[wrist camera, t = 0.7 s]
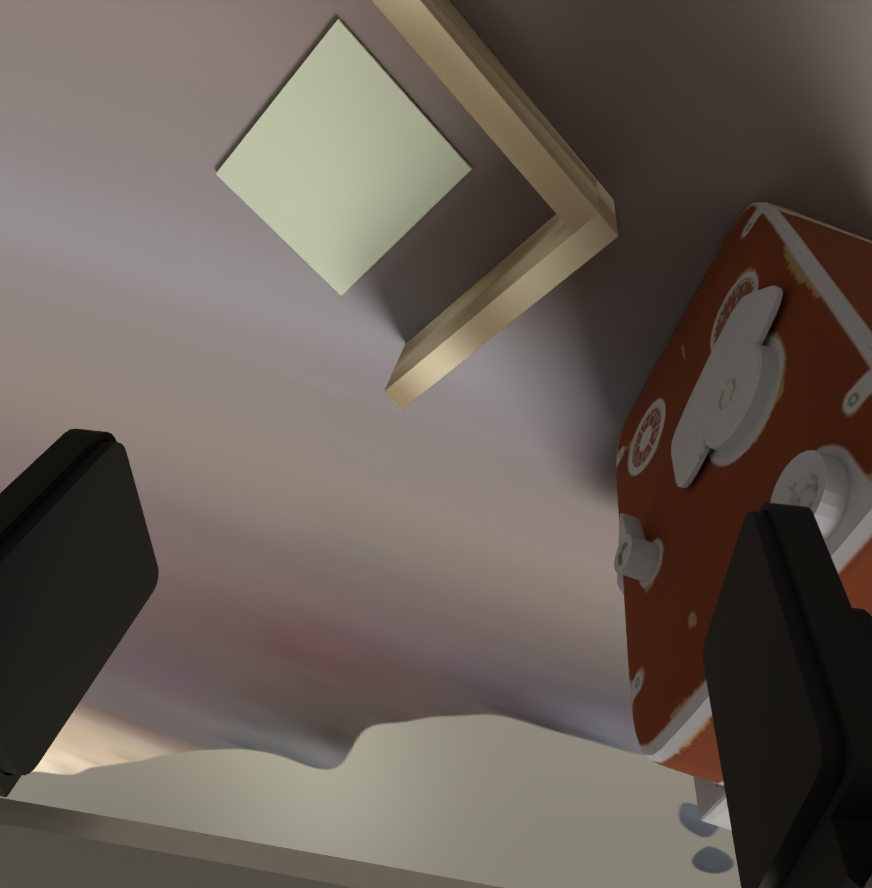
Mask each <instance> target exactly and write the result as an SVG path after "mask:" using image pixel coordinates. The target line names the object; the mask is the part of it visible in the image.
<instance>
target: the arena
mask: <svg viewBox="0 0 872 888" xmlns="http://www.w3.org/2000/svg"><path fill="white" fill-rule="evenodd" d="M372 1H373V2H374V4H375V5H376V6H377V7H378V8H379V9H380V10H381V12H382V13H383V14H384V15H385V16H386V17H387V19H388V20H389V21H390V22H391V23H392V24H393V25H394V27H395V28H396V29H397V30H398V31H399V32H400V34H401V35H402V36H403V37H404V38H405V39H406V41H407V42H408V43H409V44H410V45H411V46H412V47H413V49H414V50H415V51H416V52H417V53H418V54H419V56H420V57H421V58H422V59H423V60H424V61H425V63H426V64H427V65H428V66H429V67H430V68H431V69H432V71H433V72H434V73H435V74H436V75H437V76H438V78H439V79H440V80H441V81H442V82H443V83H444V85H445V86H446V87H447V88H448V89H449V90H450V91H451V93H452V94H453V95H454V96H455V97H456V98H457V100H458V101H459V102H460V103H461V104H462V105H463V107H464V108H465V109H466V110H467V111H468V112H469V113H470V115H471V116H472V117H473V118H474V119H475V120H476V122H477V123H478V124H479V125H480V126H481V127H482V128H483V130H484V131H485V132H486V133H487V134H488V135H489V137H490V138H491V139H492V140H493V141H494V142H495V144H496V145H497V146H498V147H499V148H500V149H501V150H502V152H503V153H504V154H505V155H506V156H507V157H508V159H509V160H510V161H511V162H512V163H513V164H514V166H515V167H516V168H517V169H518V170H519V171H520V172H521V174H522V175H523V176H524V177H525V178H526V179H527V181H528V182H529V183H530V184H531V185H532V186H533V188H534V189H535V190H536V191H537V192H538V193H539V194H540V196H541V197H542V198H543V199H544V200H545V201H546V203H547V204H548V205H549V206H550V207H551V208H552V209H553V211H554V212H555V213H556V214H555V215H554V216H553V217H552V218H551V219H550V220H548V221H547V222H546V223H545V224H544V225H543V226H541V227H540V228H539V229H538V230H537V231H536V232H535V233H533V234H532V235H531V236H530V237H529V238H528V239H526V240H525V241H524V242H523V243H522V244H521V245H519V246H518V247H517V248H516V249H515V250H514V251H512V252H511V253H510V254H509V255H508V256H507V257H506V258H504V259H503V260H502V261H501V262H500V263H499V264H497V265H496V266H495V267H494V268H493V269H492V270H490V271H489V272H488V273H487V274H486V275H485V276H483V277H482V278H481V279H480V280H479V281H478V282H477V283H475V284H474V285H473V286H472V287H471V288H470V289H468V290H467V291H466V292H465V293H464V294H463V295H461V296H460V297H459V298H458V299H457V300H456V301H454V302H453V303H452V304H451V305H450V306H449V307H448V308H446V309H445V310H444V311H443V312H442V313H441V314H439V315H438V316H437V317H436V318H435V319H434V320H432V321H431V322H430V323H429V324H428V325H427V326H425V327H424V328H423V329H422V330H421V331H420V332H419V333H417V334H416V335H415V336H414V337H413V338H412V339H410V340H409V341H408V342H407V343H406V344H405V346H404V348H403V351H402V353H401V355H400V357H399V359H398V362H397V364H396V366H395V368H394V371H393V373H392V375H391V377H390V380H389V382H388V384H387V386H386V389H385V391H384V392H385V393H386V394H387V395H388V396H389V397H390V398H392V399H393V400H394V401H395V402H396V403H397V404H398V405H399V406H400V407H401V408H402V409H403V408H404V407H406V406H407V405H408V404H409V403H411V402H412V401H413V400H414V399H416V398H417V397H418V396H419V395H421V394H422V393H423V392H424V391H426V390H427V389H428V388H429V387H431V386H432V385H433V384H434V383H436V382H437V381H438V380H439V379H441V378H442V377H443V376H444V375H446V374H447V373H448V372H449V371H451V370H452V369H453V368H454V367H456V366H457V365H458V364H459V363H461V362H462V361H463V360H464V359H466V358H467V357H468V356H469V355H471V354H472V353H473V352H474V351H476V350H477V349H478V348H479V347H481V346H482V345H483V344H484V343H486V342H487V341H488V340H489V339H491V338H492V337H493V336H494V335H496V334H497V333H498V332H499V331H501V330H502V329H503V328H504V327H506V326H507V325H508V324H509V323H511V322H512V321H513V320H514V319H516V318H517V317H518V316H519V315H521V314H522V313H523V312H524V311H526V310H527V309H528V308H529V307H531V306H532V305H533V304H534V303H536V302H537V301H538V300H539V299H541V298H542V297H543V296H544V295H546V294H547V293H548V292H549V291H551V290H552V289H553V288H554V287H556V286H557V285H558V284H559V283H561V282H562V281H563V280H564V279H566V278H567V277H568V276H569V275H571V274H572V273H573V272H574V271H576V270H577V269H578V268H579V267H581V266H582V265H583V264H584V263H586V262H587V261H588V260H589V259H591V258H592V257H593V256H594V255H596V254H597V253H598V252H599V251H601V250H602V249H603V248H604V247H606V246H607V245H608V244H609V243H611V242H612V241H613V240H614V239H616V238H617V237H618V230H617V222H616V214H615V206H614V200H613V198H612V197H611V196H610V195H609V194H608V192H607V191H606V190H605V189H604V187H603V186H602V185H601V184H600V183H599V181H598V180H597V179H596V178H595V177H594V175H593V174H592V173H591V172H590V171H589V169H588V168H587V167H586V166H585V164H584V163H583V162H582V161H581V160H580V158H579V157H578V156H577V155H576V154H575V152H574V151H573V150H572V149H571V148H570V146H569V145H568V144H567V143H566V141H565V140H564V139H563V138H562V137H561V135H560V134H559V133H558V132H557V131H556V129H555V128H554V127H553V126H552V125H551V123H550V122H549V121H548V120H547V118H546V117H545V116H544V115H543V114H542V112H541V111H540V110H539V109H538V108H537V106H536V105H535V104H534V103H533V102H532V100H531V99H530V98H529V97H528V95H527V94H526V93H525V92H524V91H523V89H522V88H521V87H520V86H519V85H518V83H517V82H516V81H515V80H514V79H513V77H512V76H511V75H510V74H509V72H508V71H507V70H506V69H505V68H504V66H503V65H502V64H501V63H500V62H499V60H498V59H497V58H496V57H495V56H494V54H493V53H492V52H491V51H490V49H489V48H488V47H487V46H486V45H485V43H484V42H483V41H482V40H481V39H480V37H479V36H478V35H477V34H476V33H475V31H474V30H473V29H472V28H471V26H470V25H469V24H468V23H467V22H466V20H465V19H464V18H463V17H462V16H461V14H460V13H459V12H458V11H457V10H456V8H455V7H454V6H453V5H452V3H451V2H450V1H449V0H372Z"/></svg>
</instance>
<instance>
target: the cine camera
mask: <svg viewBox="0 0 872 888" xmlns="http://www.w3.org/2000/svg"><path fill="white" fill-rule="evenodd" d="M616 478H617V493H618V509H619V546H618V549H617V552H616V556H615V561H614V566H615V571H616V572H617V573H618V574H617V583H618V586H619V588H620V590H621V591H622V593H623V594H624V602H625V618H626V633H627V649H628V665H629V678H630V690H631V703H632V713H633V719H634V726H635V732H636V735H637V738H638V741H639V744H640V747H641V749H642V751H643V753H644V754H645V755H646V756H647V757H649V758H650V759H651V760H652V761H654V762H656V763H658V764H660V765H662V766H665V767H668V768H671V769H674V770H677V771H680V772H683V773H686V774H689V775H692V776H694V781H695V789H696V796H697V804H698V812H699V817H700V819H701V820H702V821H704V822H707V823H710V824H714V825H717V826H720V827H723V828H726V829H729V830H732V829H731V823H730V818H729V812H728V806H727V800H726V794H725V788H724V782H723V776H722V770H721V765H720V759H719V753H718V747H717V741H716V735H715V729H714V723H713V717H712V711H711V706H710V700H709V694H708V688H707V682H706V676H705V670H704V663H703V649H704V642H705V638H706V635H707V632H708V629H709V626H710V623H711V620H712V616H713V613H714V610H715V607H716V604H717V601H718V598H719V595H720V592H721V588H722V585H723V582H724V579H725V576H726V573H727V570H728V567H729V564H730V560H731V557H732V554H733V551H734V548H735V545H736V542H737V539H738V536H739V533H740V529H741V526H742V523H743V520H744V517H745V515H746V514H747V512H749V511H754V512H759V510H760V508H761V506H762V505H763V504H764V503H777V504H786V505H795V506H805V507H808V508H810V509H811V510H812V512H813V514H814V516H815V519H816V521H817V523H818V526H819V528H820V531H821V533H822V536H823V538H824V541H825V543H826V545H827V548H828V550H829V553H830V555H831V558H832V560H833V563H834V565H835V567H836V570H837V572H838V575H839V577H840V580H841V582H842V585H843V587H844V589H845V592H846V594H847V597H848V599H849V602H850V604H851V607H852V608H859V609H864V610H866V611H867V612H868V613H869V614H870V615H871V616H872V239H869V238H867V237H864V236H861V235H858V234H856V233H853V232H850V231H848V230H845V229H842V228H839V227H837V226H834V225H831V224H828V223H826V222H823V221H820V220H817V219H815V218H812V217H809V216H806V215H804V214H801V213H798V212H796V211H793V210H790V209H787V208H784V207H781V206H778V205H775V204H772V203H769V202H753V203H752V204H750V205H749V206H747V207H746V209H745V210H744V211H743V212H742V214H741V215H740V216H739V218H738V219H737V221H736V223H735V224H734V226H733V227H732V229H731V231H730V232H729V234H728V236H727V238H726V239H725V241H724V243H723V245H722V247H721V249H720V250H719V252H718V254H717V256H716V258H715V259H714V261H713V263H712V265H711V267H710V268H709V270H708V272H707V274H706V276H705V278H704V279H703V281H702V283H701V285H700V287H699V288H698V290H697V292H696V294H695V296H694V298H693V299H692V301H691V303H690V305H689V307H688V308H687V310H686V312H685V314H684V316H683V318H682V319H681V321H680V323H679V325H678V327H677V328H676V330H675V332H674V334H673V336H672V338H671V339H670V341H669V343H668V345H667V347H666V348H665V350H664V352H663V354H662V356H661V357H660V359H659V361H658V363H657V365H656V367H655V368H654V370H653V372H652V374H651V376H650V377H649V379H648V381H647V383H646V385H645V387H644V388H643V390H642V392H641V394H640V396H639V397H638V399H637V401H636V403H635V405H634V407H633V408H632V410H631V412H630V414H629V416H628V417H627V419H626V422H625V424H624V426H623V428H622V430H621V433H620V436H619V439H618V442H617V451H616Z"/></svg>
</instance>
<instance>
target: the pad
mask: <svg viewBox="0 0 872 888" xmlns="http://www.w3.org/2000/svg"><path fill="white" fill-rule="evenodd" d="M471 170H472V168H471V167H470V165H469V164H468V163H467V162H466V161H465V160H464V159H463V158H462V156H461V155H460V154H459V153H458V152H457V151H456V150H455V149H454V147H453V146H452V145H451V144H450V143H449V142H448V141H447V140H446V138H445V137H444V136H443V135H442V134H441V133H440V132H439V131H438V129H437V128H436V127H435V126H434V125H433V124H432V123H431V122H430V120H429V119H428V118H427V117H426V116H425V115H424V114H423V113H422V111H421V110H420V109H419V108H418V107H417V106H416V105H415V104H414V102H413V101H412V100H411V99H410V98H409V97H408V96H407V95H406V93H405V92H404V91H403V90H402V89H401V88H400V87H399V85H398V84H397V83H396V82H395V81H394V80H393V79H392V78H391V76H390V75H389V74H388V73H387V72H386V71H385V70H384V69H383V67H382V66H381V65H380V64H379V63H378V62H377V61H376V60H375V58H374V57H373V56H372V55H371V54H370V53H369V52H368V51H367V49H366V48H365V47H364V46H363V45H362V44H361V43H360V42H359V40H358V39H357V38H356V37H355V36H354V35H353V34H352V33H351V31H350V30H349V29H348V28H347V27H346V26H345V25H344V24H343V22H342V21H341V20H340V19H338V20H337V21H336V22H335V24H334V25H333V26H332V27H331V29H330V30H329V31H328V32H327V34H326V35H325V36H324V37H323V39H322V40H321V41H320V43H319V44H318V45H317V46H316V48H315V49H314V50H313V51H312V53H311V54H310V55H309V56H308V58H307V59H306V60H305V62H304V63H303V64H302V65H301V67H300V68H299V69H298V70H297V72H296V73H295V74H294V75H293V77H292V78H291V79H290V80H289V82H288V83H287V84H286V86H285V87H284V88H283V89H282V91H281V92H280V93H279V94H278V96H277V97H276V98H275V99H274V101H273V102H272V103H271V105H270V106H269V107H268V108H267V110H266V111H265V112H264V113H263V115H262V116H261V117H260V118H259V120H258V121H257V122H256V124H255V125H254V126H253V127H252V129H251V130H250V131H249V132H248V134H247V135H246V136H245V137H244V139H243V140H242V141H241V143H240V144H239V145H238V146H237V148H236V149H235V150H234V151H233V153H232V154H231V155H230V156H229V158H228V159H227V160H226V161H225V163H224V164H223V165H222V167H221V168H220V169H219V170H218V172H217V173H216V175H217V176H219V177H220V178H221V179H222V180H223V181H224V182H225V183H226V184H227V185H228V186H229V187H230V188H231V189H232V190H233V191H234V192H235V193H236V194H237V195H238V196H239V197H240V198H241V199H242V200H243V201H244V202H245V203H246V204H247V205H248V206H249V207H250V208H251V209H252V210H254V211H255V212H256V213H257V214H258V215H259V216H260V217H261V218H262V219H263V220H264V221H265V222H266V223H267V224H268V225H269V226H270V227H271V228H272V229H273V230H274V231H275V232H276V233H277V234H278V235H279V236H280V237H281V238H282V239H283V240H284V241H285V242H286V243H287V244H288V245H290V246H291V247H292V248H293V249H294V250H295V251H296V252H297V253H298V254H299V255H300V256H301V257H302V258H303V259H304V260H305V261H306V262H307V263H308V264H309V265H310V266H311V267H312V268H313V269H314V270H315V271H316V272H317V273H318V274H319V275H320V276H321V277H322V278H323V279H325V280H326V281H327V282H328V283H329V284H330V285H331V286H332V287H333V288H334V289H335V290H336V291H337V292H338V293H339V294H340V295H341V296H342V295H343V294H344V293H345V292H346V291H347V290H348V289H349V288H350V287H351V286H352V285H353V284H354V283H355V282H356V281H357V280H358V279H359V278H360V277H361V276H362V275H363V274H364V273H365V272H367V271H368V270H369V269H370V268H371V267H372V266H373V265H374V264H375V263H376V262H377V261H378V260H379V259H380V258H381V257H382V256H383V255H384V254H385V253H386V252H387V251H388V250H389V249H390V248H391V247H392V246H393V245H394V244H395V243H396V242H397V241H398V240H399V239H401V238H402V237H403V236H404V235H405V234H406V233H407V232H408V231H409V230H410V229H411V228H412V227H413V226H414V225H415V224H416V223H417V222H418V221H419V220H420V219H421V218H422V217H423V216H424V215H425V214H426V213H427V212H428V211H429V210H430V209H431V208H432V207H434V206H435V205H436V204H437V203H438V202H439V201H440V200H441V199H442V198H443V197H444V196H445V195H446V194H447V193H448V192H449V191H450V190H451V189H452V188H453V187H454V186H455V185H456V184H457V183H458V182H459V181H460V180H461V179H462V178H463V177H464V176H465V175H466V174H468V173H469V172H470V171H471Z"/></svg>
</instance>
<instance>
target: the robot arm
mask: <svg viewBox="0 0 872 888" xmlns="http://www.w3.org/2000/svg"><path fill="white" fill-rule="evenodd" d="M157 580H158V566H157V562H156V558H155V555H154V551H153V547H152V544H151V540H150V536H149V533H148V529H147V526H146V522H145V518H144V515H143V511H142V507H141V504H140V500H139V496H138V493H137V489H136V485H135V482H134V478H133V475H132V471H131V467H130V464H129V460H128V456H127V453H126V450H125V447H124V446H123V445H122V444H121V443H118V442H117V441H116V439H115V437H114V436H113V435H112V434H110V433H108V432H102V431H92V430H83V429H70V430H69V431H67V432H65V433H64V434H63V435H62V436H61V437H60V438H59V439H58V440H57V441H56V442H55V443H54V444H52V445H51V446H50V447H49V448H48V449H47V450H46V451H45V452H44V453H43V454H42V455H41V456H40V457H39V458H38V459H36V460H35V461H34V462H33V463H32V464H31V465H30V466H29V467H28V468H27V469H26V470H25V471H24V472H23V473H21V474H20V475H19V476H18V477H17V478H16V479H15V480H14V481H13V482H12V483H11V484H10V485H9V486H8V487H7V488H5V489H4V490H3V491H2V492H1V493H0V796H3V797H7V796H8V795H9V793H10V792H11V790H12V789H13V787H14V786H15V784H16V783H17V781H18V780H19V778H20V777H21V775H26V774H29V773H30V772H31V771H33V770H34V769H35V767H36V766H37V765H38V764H39V762H40V761H41V759H42V758H43V756H44V755H45V753H46V752H47V750H48V749H49V747H50V746H51V744H52V743H53V741H54V740H55V738H56V737H57V735H58V734H59V732H60V731H61V729H62V728H63V726H64V725H65V723H66V722H67V720H68V719H69V717H70V716H71V714H72V713H73V711H74V710H75V708H76V707H77V705H78V704H79V702H80V701H81V699H82V698H83V696H84V695H85V693H86V692H87V690H88V689H89V687H90V686H91V684H92V683H93V681H94V680H95V678H96V677H97V675H98V674H99V672H100V671H101V669H102V668H103V666H104V665H105V663H106V662H107V660H108V659H109V657H110V656H111V654H112V653H113V651H114V650H115V648H116V647H117V645H118V644H119V642H120V641H121V639H122V638H123V636H124V635H125V633H126V632H127V630H128V629H129V627H130V626H131V624H132V623H133V621H134V620H135V618H136V617H137V615H138V614H139V612H140V611H141V609H142V608H143V606H144V605H145V603H146V602H147V600H148V599H149V597H150V596H151V594H152V593H153V591H154V589H155V587H156V584H157ZM703 663H704V670H705V676H706V682H707V688H708V694H709V700H710V706H711V711H712V717H713V723H714V729H715V735H716V741H717V747H718V753H719V759H720V765H721V770H722V776H723V782H724V788H725V794H726V800H727V806H728V812H729V818H730V823H731V829H732V835H733V841H734V846H735V853H736V859H737V865H738V871H739V876H740V882H741V887H742V888H872V616H871V615H870V614H869V613H868V612H867V611H866V610H864V609H859V608H852V607H851V604H850V602H849V599H848V597H847V594H846V592H845V589H844V587H843V585H842V582H841V580H840V577H839V575H838V572H837V570H836V567H835V565H834V563H833V560H832V558H831V555H830V553H829V550H828V548H827V545H826V543H825V541H824V538H823V536H822V533H821V531H820V528H819V526H818V523H817V521H816V519H815V516H814V514H813V512H812V510H811V509H810V508H808V507H805V506H795V505H786V504H777V503H764V504H763V505H762V506H761V508H760V510H759V512H754V511H749V512H747V514H746V515H745V517H744V520H743V523H742V526H741V529H740V533H739V536H738V539H737V542H736V545H735V548H734V551H733V554H732V557H731V560H730V564H729V567H728V570H727V573H726V576H725V579H724V582H723V585H722V588H721V592H720V595H719V598H718V601H717V604H716V607H715V610H714V613H713V616H712V620H711V623H710V626H709V629H708V632H707V635H706V638H705V642H704V649H703ZM0 888H501V887H495V886H490V885H485V884H480V883H474V882H468V881H464V880H458V879H453V878H447V877H442V876H437V875H431V874H425V873H420V872H415V871H409V870H404V869H398V868H393V867H387V866H382V865H377V864H371V863H366V862H359V861H355V860H349V859H343V858H338V857H332V856H327V855H321V854H316V853H310V852H304V851H299V850H293V849H288V848H282V847H276V846H271V845H266V844H260V843H254V842H249V841H243V840H238V839H232V838H226V837H221V836H215V835H209V834H204V833H198V832H193V831H187V830H181V829H176V828H170V827H165V826H159V825H153V824H147V823H141V822H136V821H130V820H125V819H118V818H113V817H107V816H102V815H96V814H90V813H84V812H78V811H72V810H66V809H61V808H55V807H49V806H44V805H38V804H32V803H26V802H21V801H15V800H9V799H3V798H0Z"/></svg>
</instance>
